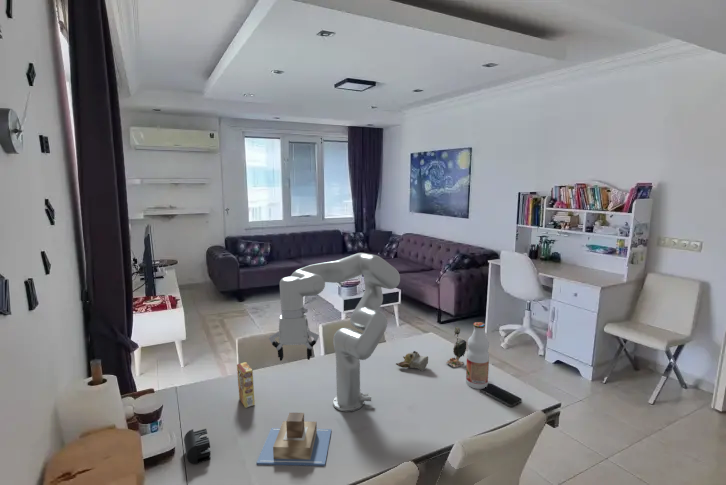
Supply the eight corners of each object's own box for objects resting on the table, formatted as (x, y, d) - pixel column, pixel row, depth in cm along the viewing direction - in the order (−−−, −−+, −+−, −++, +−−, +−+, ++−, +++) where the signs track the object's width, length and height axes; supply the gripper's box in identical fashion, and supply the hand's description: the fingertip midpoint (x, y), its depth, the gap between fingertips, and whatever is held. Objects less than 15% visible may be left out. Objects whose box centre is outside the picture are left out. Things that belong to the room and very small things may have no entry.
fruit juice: (479, 391, 170) (482, 329, 166) (461, 383, 178) (463, 323, 173) (492, 384, 176) (495, 324, 172) (474, 376, 183) (476, 318, 179)
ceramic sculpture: (424, 357, 184) (394, 352, 191) (424, 375, 185) (395, 370, 192) (431, 349, 193) (403, 345, 200) (432, 366, 194) (403, 361, 201)
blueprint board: (331, 430, 144) (331, 429, 144) (324, 465, 127) (324, 463, 127) (271, 429, 145) (271, 427, 145) (256, 464, 127) (256, 462, 127)
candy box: (255, 405, 161) (253, 369, 159) (244, 408, 159) (242, 372, 156) (248, 395, 168) (246, 361, 166) (238, 398, 166) (236, 364, 164)
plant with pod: (471, 364, 195) (472, 325, 192) (452, 369, 191) (453, 329, 188) (460, 358, 203) (462, 320, 200) (442, 362, 198) (443, 323, 195)
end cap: (184, 449, 135) (183, 431, 134) (207, 443, 138) (205, 425, 137) (187, 468, 126) (185, 448, 125) (211, 460, 130) (209, 441, 128)
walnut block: (304, 428, 138) (303, 412, 137) (301, 437, 133) (301, 421, 132) (290, 428, 138) (289, 412, 137) (286, 437, 133) (286, 421, 132)
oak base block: (316, 433, 143) (316, 421, 142) (310, 461, 129) (309, 447, 128) (283, 433, 143) (283, 420, 142) (273, 460, 129) (273, 446, 129)
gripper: (318, 308, 141) (320, 353, 144) (269, 309, 141) (273, 354, 144) (316, 315, 134) (318, 362, 137) (264, 317, 134) (268, 364, 137)
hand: (295, 358), depth 140 cm, fingers open, 9 cm apart
